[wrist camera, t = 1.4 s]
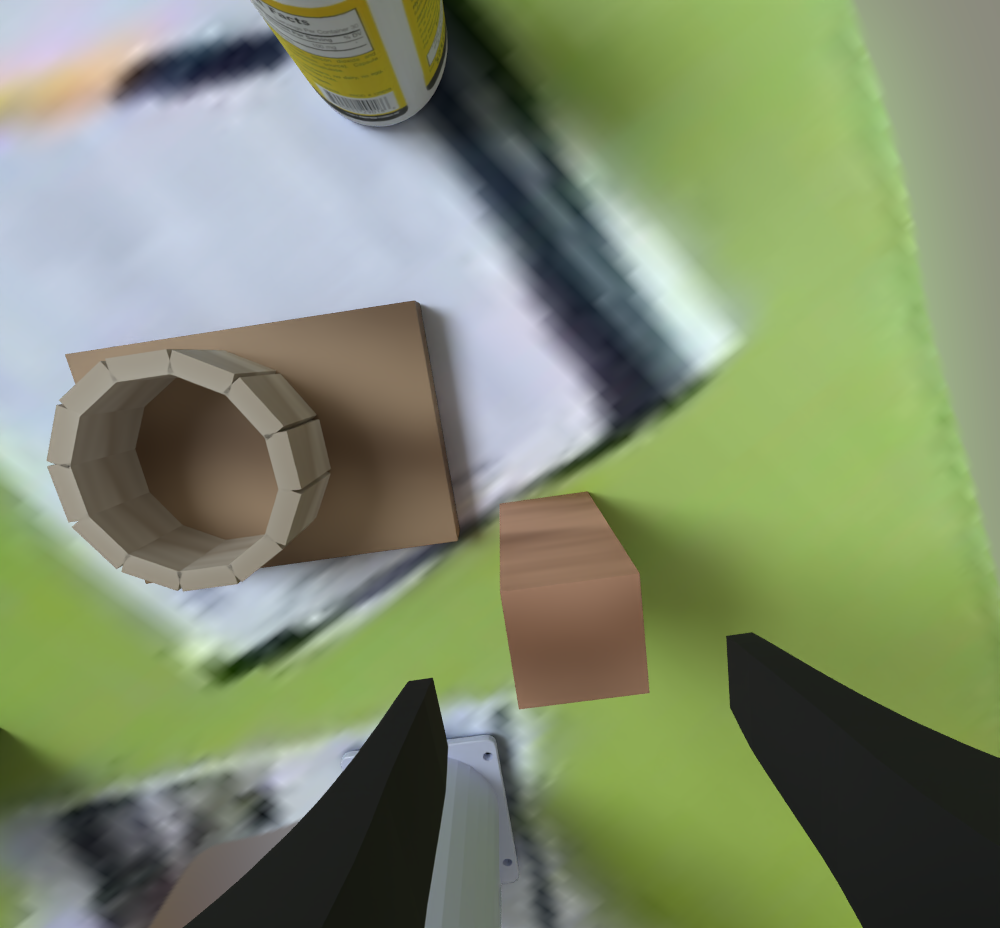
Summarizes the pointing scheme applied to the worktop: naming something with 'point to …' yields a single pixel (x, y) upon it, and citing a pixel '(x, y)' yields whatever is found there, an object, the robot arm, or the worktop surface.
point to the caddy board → (255, 447)
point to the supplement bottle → (364, 52)
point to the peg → (569, 603)
